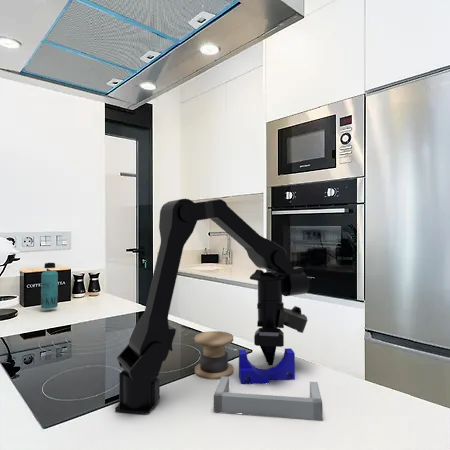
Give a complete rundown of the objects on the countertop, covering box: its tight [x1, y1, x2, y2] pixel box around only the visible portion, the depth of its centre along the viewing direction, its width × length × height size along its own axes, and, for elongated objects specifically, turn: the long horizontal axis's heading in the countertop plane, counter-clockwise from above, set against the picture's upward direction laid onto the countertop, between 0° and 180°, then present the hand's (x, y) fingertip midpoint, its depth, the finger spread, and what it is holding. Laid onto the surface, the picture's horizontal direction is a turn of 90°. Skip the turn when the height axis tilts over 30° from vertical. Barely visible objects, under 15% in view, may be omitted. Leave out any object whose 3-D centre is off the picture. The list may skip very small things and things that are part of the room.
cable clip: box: [238, 348, 296, 385], centre depth 78 cm, size 12×4×6 cm, turn 93°
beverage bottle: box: [40, 262, 59, 310], centre depth 148 cm, size 6×7×20 cm
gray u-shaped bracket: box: [213, 376, 324, 421], centre depth 67 cm, size 19×8×3 cm, turn 81°
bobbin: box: [194, 330, 234, 380], centre depth 83 cm, size 9×9×8 cm
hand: (270, 364), depth 84 cm, fingers closed
